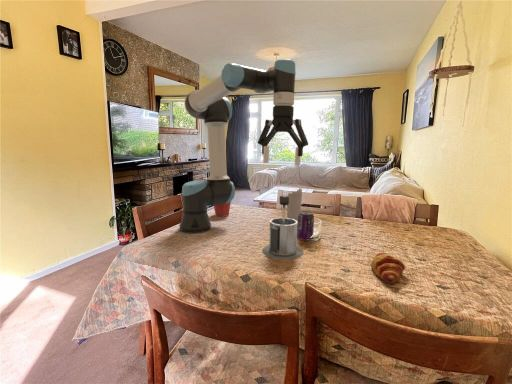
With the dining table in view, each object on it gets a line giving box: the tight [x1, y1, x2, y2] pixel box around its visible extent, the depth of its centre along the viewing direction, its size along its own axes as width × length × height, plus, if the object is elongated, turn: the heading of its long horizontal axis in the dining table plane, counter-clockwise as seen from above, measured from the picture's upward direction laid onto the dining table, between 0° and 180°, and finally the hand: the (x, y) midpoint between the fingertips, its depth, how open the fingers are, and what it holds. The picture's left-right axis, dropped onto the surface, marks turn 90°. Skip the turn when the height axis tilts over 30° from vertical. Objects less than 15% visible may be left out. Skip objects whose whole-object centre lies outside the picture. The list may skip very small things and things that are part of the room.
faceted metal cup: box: [269, 217, 298, 257], centre depth 107 cm, size 11×13×12 cm
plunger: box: [278, 195, 289, 225], centre depth 107 cm, size 8×8×19 cm
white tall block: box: [286, 187, 303, 226], centre depth 147 cm, size 7×14×20 cm, turn 54°
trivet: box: [261, 245, 304, 261], centre depth 109 cm, size 16×16×1 cm
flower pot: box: [213, 201, 232, 217], centre depth 164 cm, size 11×11×10 cm
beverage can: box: [297, 210, 315, 241], centre depth 126 cm, size 7×7×12 cm
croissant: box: [370, 252, 406, 284], centre depth 94 cm, size 21×10×8 cm, turn 163°
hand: (281, 164), depth 106 cm, fingers open, 13 cm apart
